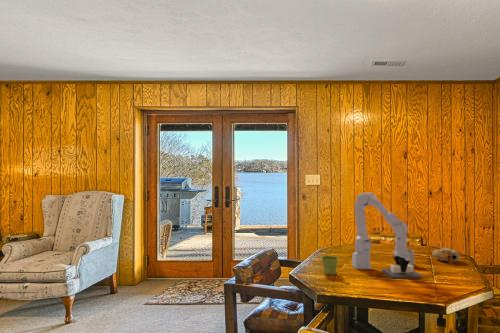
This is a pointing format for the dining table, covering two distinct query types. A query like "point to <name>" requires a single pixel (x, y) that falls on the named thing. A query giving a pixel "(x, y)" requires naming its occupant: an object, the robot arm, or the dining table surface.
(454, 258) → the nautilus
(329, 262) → the plant pot
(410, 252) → the cup
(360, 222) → the robot arm
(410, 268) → the power strip
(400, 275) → the keyhole plate
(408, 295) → the dining table surface
